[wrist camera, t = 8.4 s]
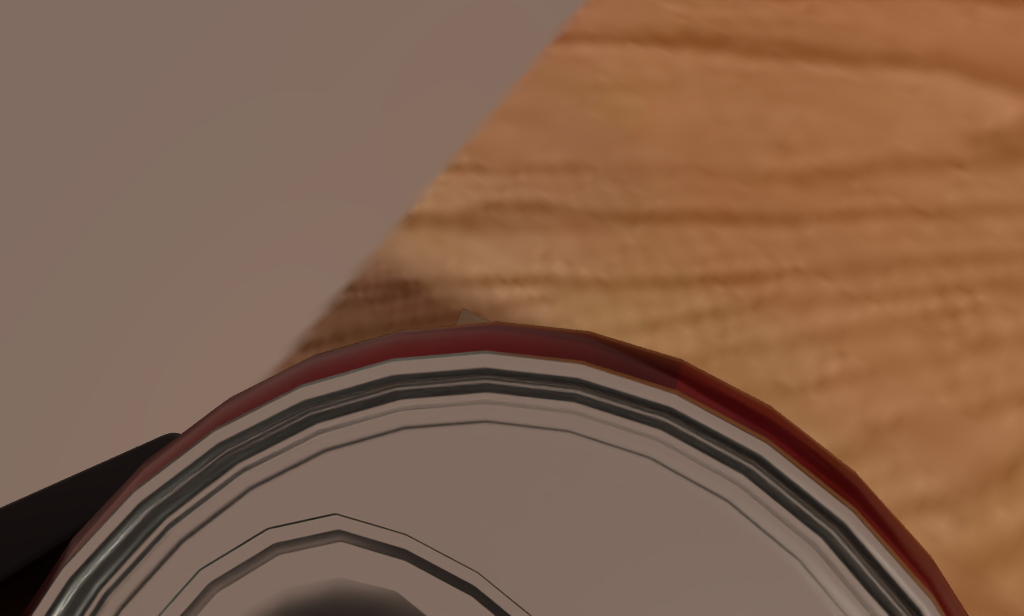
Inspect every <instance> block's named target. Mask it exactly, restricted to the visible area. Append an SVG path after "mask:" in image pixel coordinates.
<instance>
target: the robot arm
mask: <svg viewBox="0 0 1024 616" xmlns="http://www.w3.org/2000/svg"><path fill="white" fill-rule="evenodd" d="M179 435H181V434H179V433H169V434H166V435H163V436H160V437H158V438H156V439H154V440H152V441H149V442H147V443H145V444H143V445H140V446H138V447H136V448H134V449H131V450H129V451H127V452H125V453H122V454H120V455H118V456H116V457H114V458H111V459H109V460H107V461H104V462H102V463H100V464H98V465H95V466H93V467H91V468H89V469H87V470H84V471H82V472H80V473H78V474H75V475H73V476H71V477H68V478H66V479H64V480H62V481H60V482H57V483H55V484H53V485H51V486H48V487H46V488H44V489H42V490H39V491H37V492H35V493H33V494H30V495H28V496H26V497H24V498H21V499H19V500H17V501H15V502H12V503H10V504H8V505H6V506H3V507H1V508H0V616H21V615H22V614H23V612H24V611H25V609H26V608H27V606H28V605H29V603H30V602H31V600H32V599H33V597H34V596H35V594H36V593H37V591H38V590H39V588H40V587H41V585H42V584H43V582H44V581H45V579H46V578H47V576H48V575H49V573H50V572H51V570H52V569H53V567H54V566H55V564H56V563H57V561H58V560H59V558H60V557H61V555H62V554H63V552H64V551H65V549H66V548H67V546H68V545H69V543H70V542H71V540H72V539H73V537H74V536H75V535H76V534H77V533H78V532H79V531H80V530H81V529H82V528H83V527H84V526H85V525H86V524H87V522H88V521H89V520H90V519H91V518H92V517H93V516H94V515H95V514H96V513H97V512H98V511H99V510H100V509H101V508H102V506H103V505H104V504H105V503H106V502H107V501H108V500H109V499H110V498H111V497H112V496H113V495H114V494H115V493H116V492H117V490H118V489H119V488H120V487H121V486H122V485H123V484H124V483H125V482H126V481H127V480H128V479H129V478H130V477H131V475H132V474H133V473H134V472H135V471H136V470H137V469H138V468H139V467H140V466H141V465H142V464H143V463H144V462H145V461H146V460H148V459H149V458H150V457H152V456H153V455H154V454H156V453H157V452H158V451H160V450H161V449H162V448H163V447H165V446H166V445H167V444H169V443H170V442H171V441H173V440H174V439H175V438H177V437H178V436H179Z"/></svg>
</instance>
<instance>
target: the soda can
mask: <svg viewBox="0 0 1024 616" xmlns="http://www.w3.org/2000/svg"><path fill="white" fill-rule="evenodd" d="M21 616H969V615H968V614H967V612H966V611H965V609H964V608H963V606H962V604H961V603H960V601H959V600H958V598H957V596H956V595H955V593H954V592H953V590H952V588H951V587H950V585H949V584H948V582H947V581H946V579H945V577H944V576H943V574H942V573H941V571H940V569H939V568H938V566H937V565H936V563H935V562H934V560H933V558H932V557H931V555H930V554H929V553H928V552H927V551H926V550H925V549H924V548H923V547H922V545H921V544H920V543H919V542H918V541H917V540H916V539H915V538H914V537H913V535H912V534H911V533H910V532H909V531H908V530H907V529H906V528H905V527H904V525H903V524H902V523H901V522H900V521H899V520H898V519H897V518H896V517H895V515H894V514H893V513H892V512H891V511H890V510H889V509H888V508H887V507H886V505H885V504H884V503H883V502H882V501H881V500H880V499H879V498H878V497H877V495H876V494H875V493H874V492H873V491H872V490H871V489H870V488H869V487H868V485H867V484H866V483H865V482H864V481H863V480H862V479H861V478H860V477H859V475H858V474H857V473H856V472H855V471H854V470H852V469H851V468H850V467H849V466H847V465H846V464H845V463H843V462H842V461H841V460H840V459H838V458H837V457H836V456H834V455H833V454H832V453H831V452H829V451H828V450H827V449H825V448H824V447H823V446H822V445H820V444H819V443H818V442H816V441H815V440H814V439H813V438H811V437H810V436H809V435H807V434H806V433H805V432H804V431H802V430H801V429H800V428H799V427H797V426H796V425H795V424H793V423H792V422H791V421H790V420H788V419H787V418H786V417H784V416H783V415H782V414H781V413H779V412H778V411H777V410H775V409H774V408H773V407H772V406H770V405H768V404H766V403H764V402H762V401H760V400H759V399H757V398H755V397H753V396H751V395H749V394H747V393H745V392H743V391H741V390H739V389H737V388H736V387H734V386H732V385H730V384H728V383H726V382H724V381H722V380H720V379H718V378H716V377H714V376H713V375H711V374H709V373H707V372H705V371H703V370H701V369H699V368H697V367H695V366H693V365H691V364H690V363H688V362H686V361H684V360H682V359H679V358H676V357H672V356H669V355H666V354H662V353H659V352H656V351H653V350H649V349H646V348H643V347H639V346H636V345H633V344H630V343H626V342H623V341H620V340H616V339H613V338H610V337H606V336H603V335H600V334H597V333H593V332H590V331H582V330H572V329H563V328H553V327H544V326H534V325H525V324H515V323H506V322H485V323H473V324H462V325H451V326H439V327H428V328H416V329H405V330H401V331H398V332H394V333H391V334H387V335H384V336H380V337H376V338H373V339H369V340H366V341H362V342H359V343H355V344H352V345H348V346H345V347H341V348H338V349H334V350H331V351H327V352H324V353H320V354H317V355H314V356H312V357H310V358H308V359H306V360H304V361H302V362H300V363H298V364H296V365H294V366H292V367H290V368H288V369H286V370H284V371H282V372H280V373H278V374H276V375H274V376H272V377H270V378H268V379H266V380H264V381H262V382H260V383H258V384H256V385H254V386H252V387H250V388H248V389H246V390H244V391H242V392H240V393H238V394H236V395H234V396H233V397H231V398H229V399H228V400H226V401H225V402H223V403H222V404H221V405H219V406H218V407H217V408H215V409H214V410H213V411H211V412H210V413H209V414H207V415H206V416H205V417H203V418H202V419H201V420H199V421H198V422H197V423H196V424H194V425H193V426H192V427H190V428H189V429H188V430H186V431H185V432H183V433H182V434H181V435H179V436H178V437H177V438H175V439H174V440H173V441H171V442H170V443H169V444H167V445H166V446H165V447H163V448H162V449H161V450H160V451H158V452H157V453H156V454H154V455H153V456H152V457H150V458H149V459H148V460H146V461H145V462H144V463H143V464H142V465H141V466H140V467H139V468H138V469H137V470H136V471H135V472H134V473H133V474H132V475H131V477H130V478H129V479H128V480H127V481H126V482H125V483H124V484H123V485H122V486H121V487H120V488H119V489H118V490H117V492H116V493H115V494H114V495H113V496H112V497H111V498H110V499H109V500H108V501H107V502H106V503H105V504H104V505H103V506H102V508H101V509H100V510H99V511H98V512H97V513H96V514H95V515H94V516H93V517H92V518H91V519H90V520H89V521H88V522H87V524H86V525H85V526H84V527H83V528H82V529H81V530H80V531H79V532H78V533H77V534H76V535H75V536H74V537H73V539H72V540H71V542H70V543H69V545H68V546H67V548H66V549H65V551H64V552H63V554H62V555H61V557H60V558H59V560H58V561H57V563H56V564H55V566H54V567H53V569H52V570H51V572H50V573H49V575H48V576H47V578H46V579H45V581H44V582H43V584H42V585H41V587H40V588H39V590H38V591H37V593H36V594H35V596H34V597H33V599H32V600H31V602H30V603H29V605H28V606H27V608H26V609H25V611H24V612H23V614H22V615H21Z"/></svg>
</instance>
